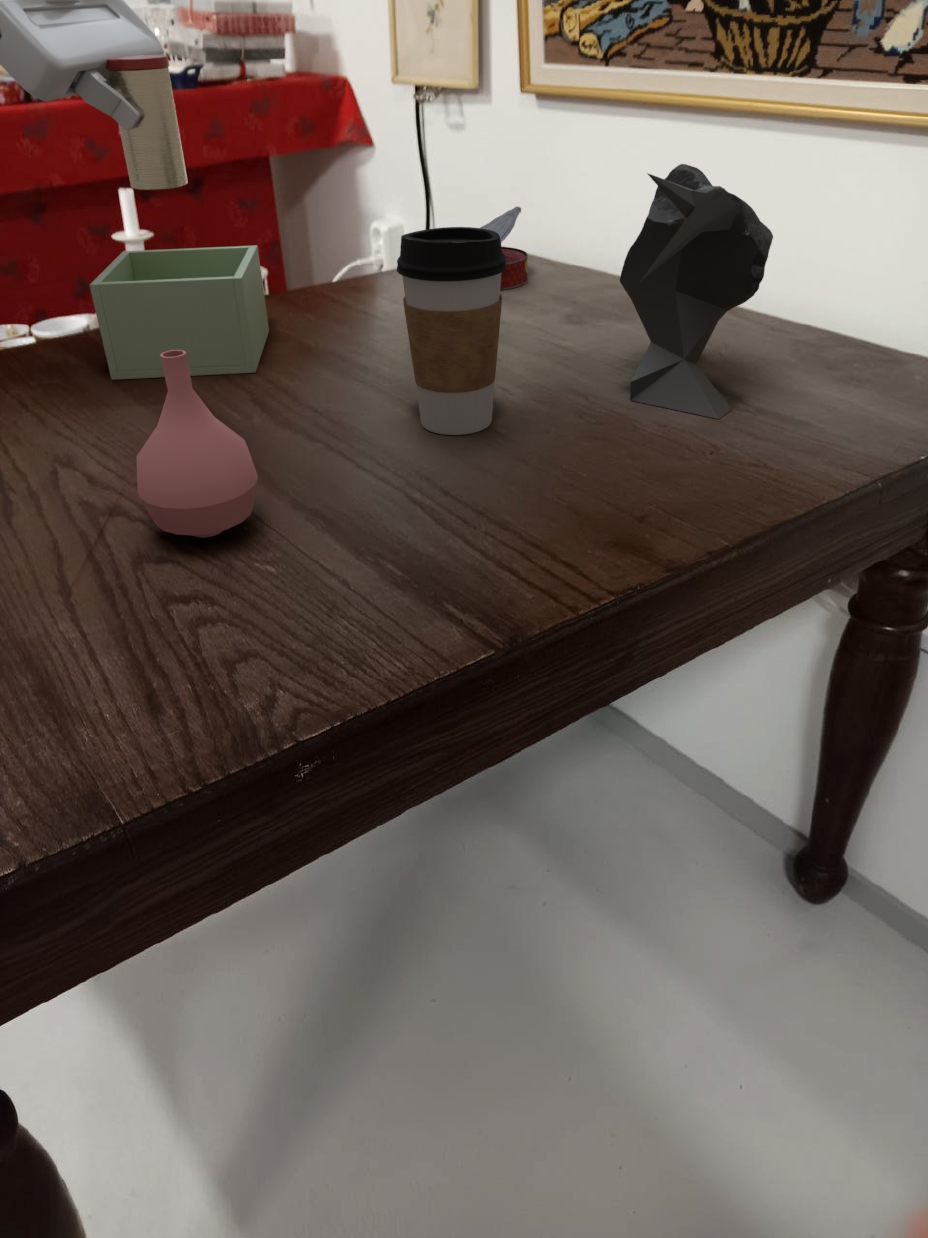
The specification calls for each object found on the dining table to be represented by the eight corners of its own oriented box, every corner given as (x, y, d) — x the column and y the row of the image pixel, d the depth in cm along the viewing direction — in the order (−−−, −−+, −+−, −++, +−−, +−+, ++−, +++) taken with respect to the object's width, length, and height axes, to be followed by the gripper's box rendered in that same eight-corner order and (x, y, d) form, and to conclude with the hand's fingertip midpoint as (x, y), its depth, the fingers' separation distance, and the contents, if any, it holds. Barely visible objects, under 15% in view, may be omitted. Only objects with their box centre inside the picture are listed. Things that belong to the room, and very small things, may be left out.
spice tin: (124, 191, 84) (97, 59, 79) (136, 180, 89) (112, 55, 83) (183, 188, 85) (161, 57, 79) (193, 178, 89) (172, 53, 83)
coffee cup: (388, 434, 78) (374, 239, 70) (430, 398, 84) (422, 217, 76) (485, 447, 75) (482, 246, 67) (520, 409, 82) (522, 222, 73)
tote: (111, 380, 91) (89, 284, 86) (141, 337, 102) (122, 250, 97) (255, 372, 92) (241, 277, 87) (269, 331, 103) (257, 245, 98)
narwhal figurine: (786, 367, 89) (821, 153, 79) (719, 419, 79) (749, 180, 69) (647, 342, 96) (663, 143, 86) (569, 387, 86) (577, 167, 76)
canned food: (508, 327, 117) (496, 262, 109) (438, 309, 121) (421, 244, 112) (550, 265, 121) (541, 197, 113) (481, 249, 125) (467, 182, 116)
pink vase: (274, 544, 63) (247, 363, 56) (154, 567, 60) (111, 382, 54) (253, 496, 69) (226, 328, 62) (144, 515, 67) (104, 344, 60)
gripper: (-39, -49, 70) (116, 102, 74) (96, -45, 86) (217, 78, 90) (-74, 24, 73) (77, 166, 77) (63, 14, 89) (181, 131, 93)
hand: (153, 118), depth 84 cm, fingers closed on spice tin, 5 cm apart
